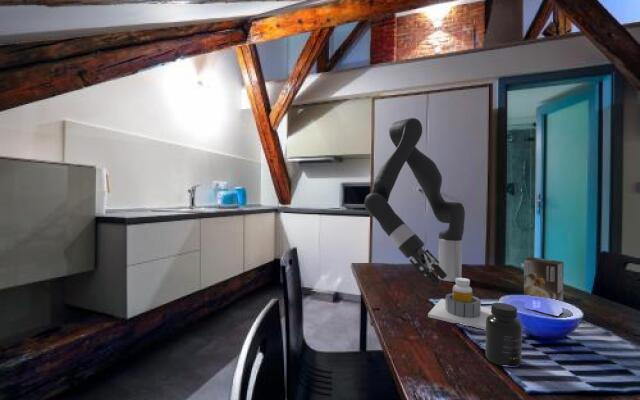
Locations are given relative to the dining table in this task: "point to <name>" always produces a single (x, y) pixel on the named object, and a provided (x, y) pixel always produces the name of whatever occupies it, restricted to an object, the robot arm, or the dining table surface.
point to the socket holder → (461, 312)
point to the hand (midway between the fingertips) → (441, 280)
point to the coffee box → (543, 278)
